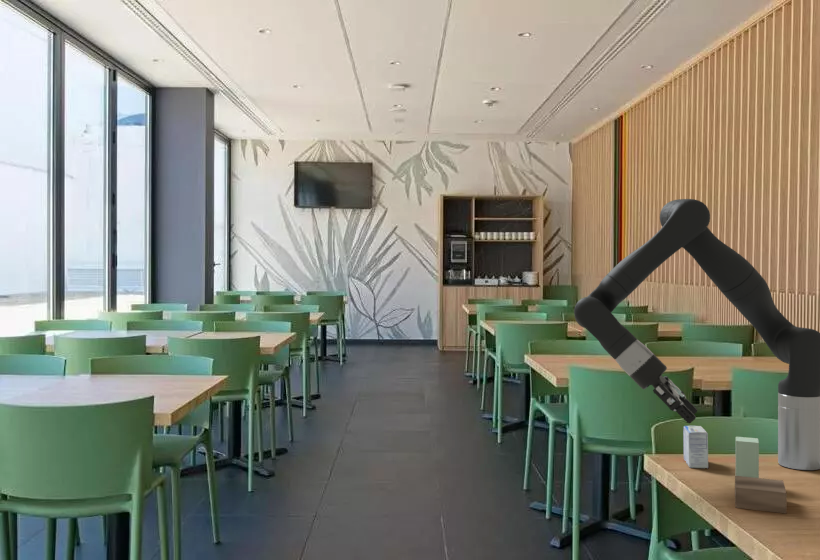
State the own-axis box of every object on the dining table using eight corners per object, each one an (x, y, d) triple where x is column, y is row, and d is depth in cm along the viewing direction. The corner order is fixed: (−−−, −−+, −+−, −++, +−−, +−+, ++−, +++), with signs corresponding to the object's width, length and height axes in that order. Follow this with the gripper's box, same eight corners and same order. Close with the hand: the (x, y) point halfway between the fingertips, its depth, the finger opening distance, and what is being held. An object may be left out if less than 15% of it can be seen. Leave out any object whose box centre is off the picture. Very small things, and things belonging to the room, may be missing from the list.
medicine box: (708, 469, 171) (708, 432, 171) (688, 468, 172) (688, 431, 172) (702, 460, 179) (702, 425, 179) (683, 459, 180) (683, 425, 180)
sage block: (735, 481, 161) (735, 436, 161) (757, 483, 160) (757, 438, 159) (735, 486, 157) (735, 440, 157) (758, 489, 155) (758, 442, 155)
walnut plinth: (734, 494, 152) (734, 475, 152) (783, 499, 148) (783, 480, 148) (735, 507, 143) (735, 487, 143) (786, 513, 140) (786, 492, 140)
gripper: (649, 356, 159) (705, 412, 155) (655, 349, 173) (707, 401, 168) (624, 379, 162) (679, 434, 157) (632, 370, 175) (683, 421, 170)
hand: (693, 417), depth 163 cm, fingers open, 8 cm apart
